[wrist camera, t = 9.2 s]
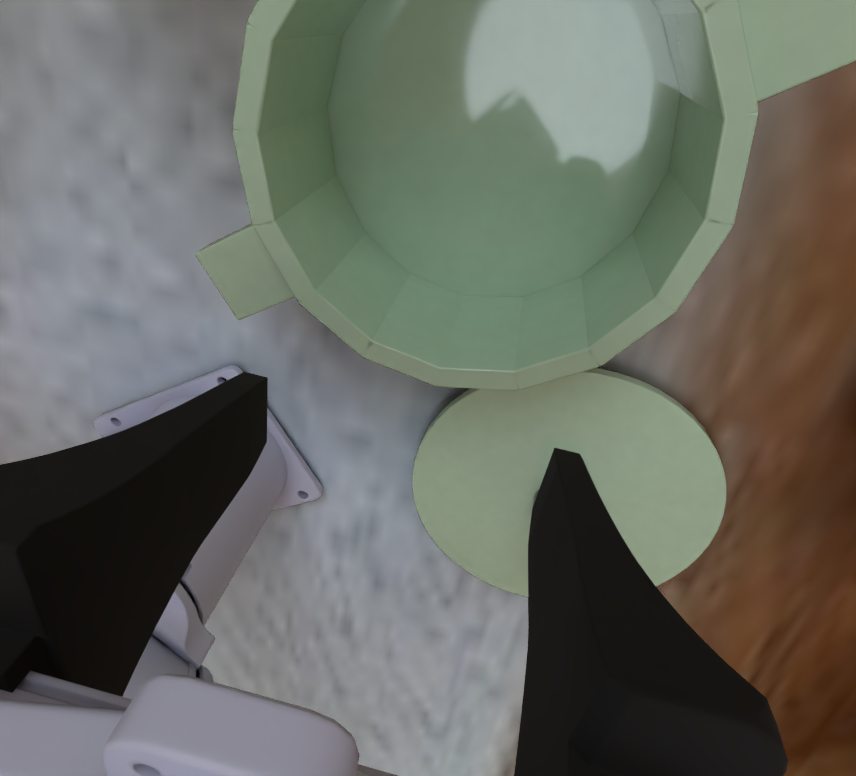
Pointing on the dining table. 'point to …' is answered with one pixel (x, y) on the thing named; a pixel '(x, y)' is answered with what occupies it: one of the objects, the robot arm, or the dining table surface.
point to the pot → (501, 168)
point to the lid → (603, 456)
